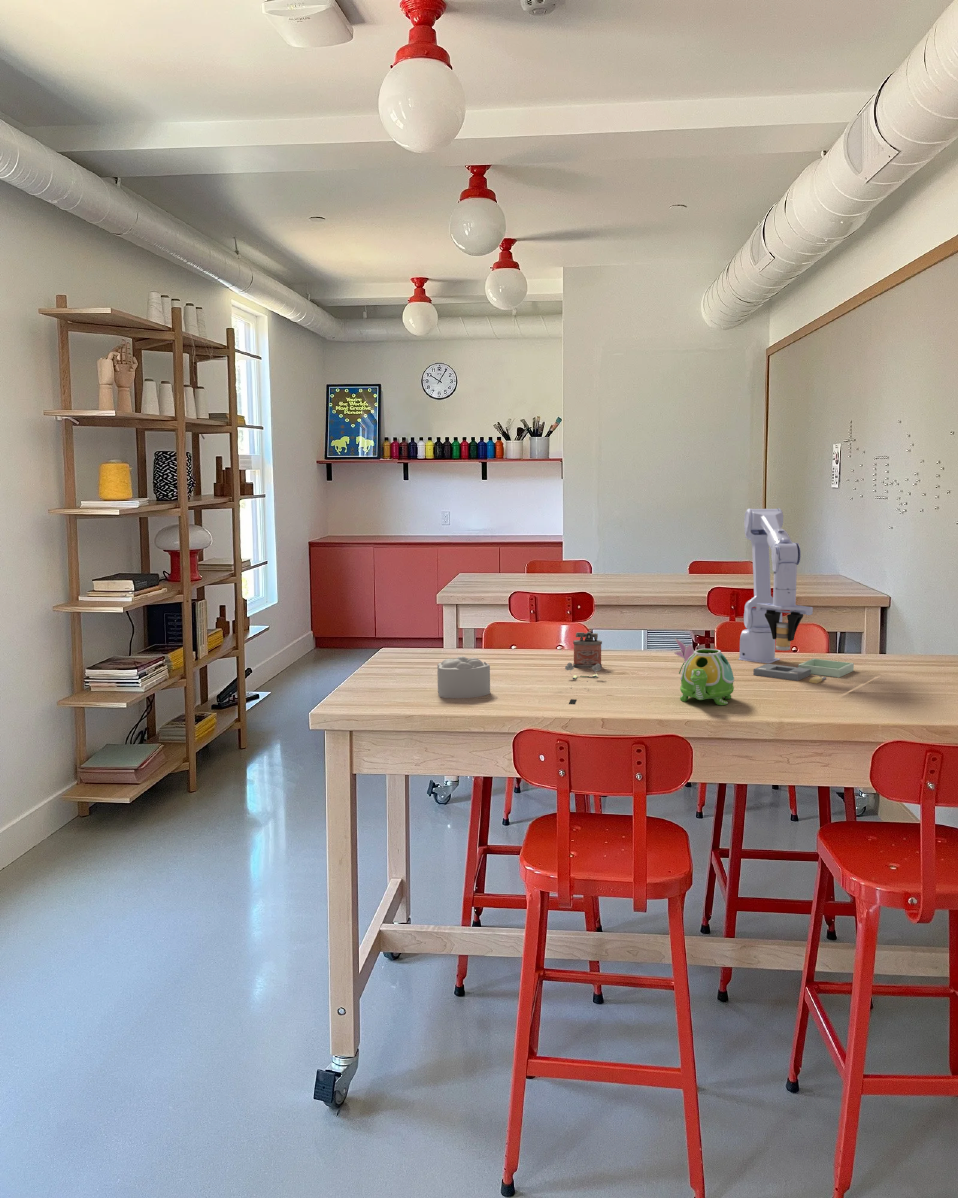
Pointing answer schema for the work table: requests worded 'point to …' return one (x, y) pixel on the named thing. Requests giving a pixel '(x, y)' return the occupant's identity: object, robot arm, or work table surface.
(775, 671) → the fuse block
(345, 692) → the work table surface
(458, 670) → the lumpy-topped squat cylinder
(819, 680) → the puller tool
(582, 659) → the lighter
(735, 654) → the work table surface
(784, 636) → the fuse
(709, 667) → the turtle holder
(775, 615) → the robot arm
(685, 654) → the lily
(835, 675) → the parts tray
